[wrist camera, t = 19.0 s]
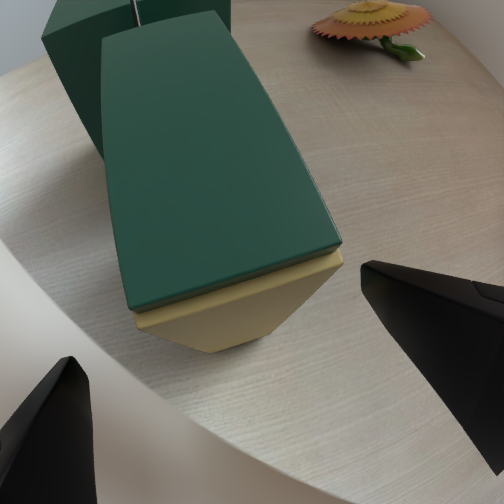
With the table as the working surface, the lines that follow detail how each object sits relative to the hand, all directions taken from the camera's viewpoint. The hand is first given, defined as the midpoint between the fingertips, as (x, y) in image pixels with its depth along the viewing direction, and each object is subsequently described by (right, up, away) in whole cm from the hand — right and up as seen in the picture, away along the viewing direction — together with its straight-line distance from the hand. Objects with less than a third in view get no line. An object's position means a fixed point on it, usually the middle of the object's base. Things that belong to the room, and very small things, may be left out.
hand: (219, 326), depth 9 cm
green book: (-1, +1, +10) cm, 11 cm away
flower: (+14, +27, +21) cm, 37 cm away
